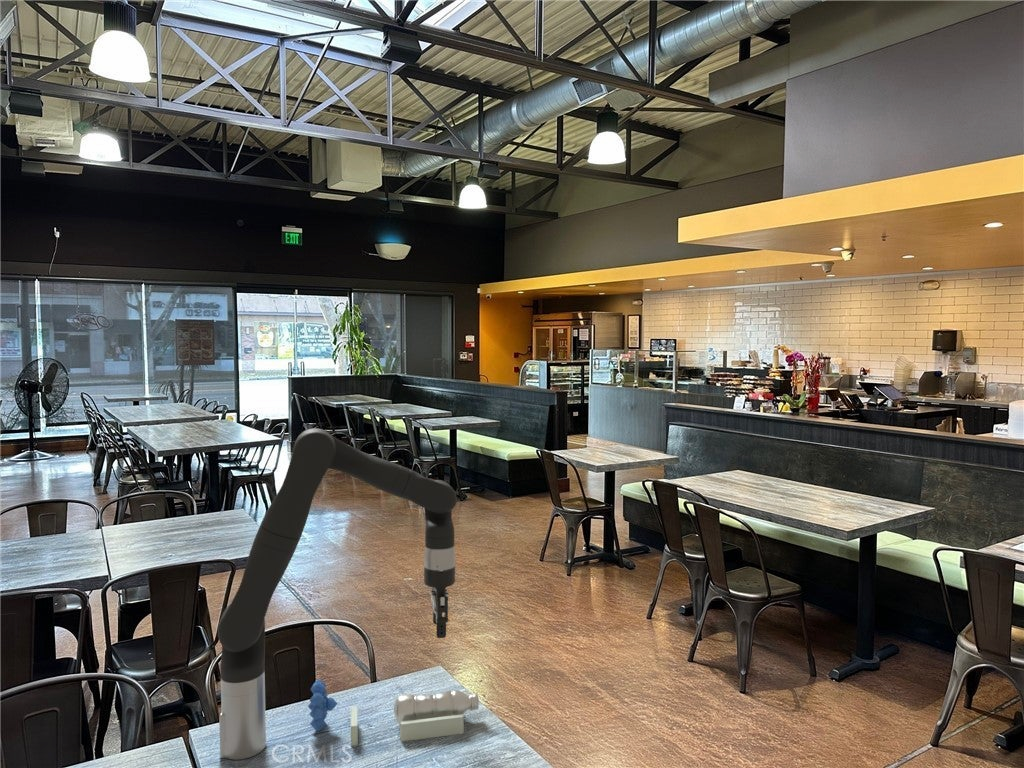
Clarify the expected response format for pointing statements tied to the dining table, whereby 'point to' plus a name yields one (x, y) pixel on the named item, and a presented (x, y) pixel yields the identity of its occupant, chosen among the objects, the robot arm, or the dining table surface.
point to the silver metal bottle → (434, 705)
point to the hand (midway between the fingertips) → (439, 630)
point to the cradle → (431, 727)
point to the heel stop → (354, 726)
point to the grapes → (320, 705)
